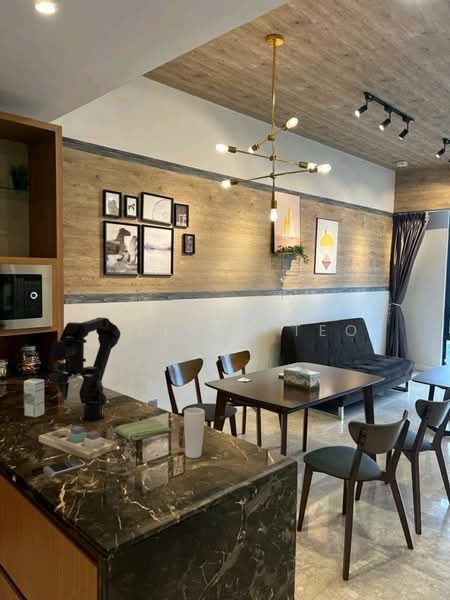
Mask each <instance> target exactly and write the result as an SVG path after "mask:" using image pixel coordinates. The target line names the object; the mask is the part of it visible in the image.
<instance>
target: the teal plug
mask: <svg viewBox="0 0 450 600" xmlns="http://www.w3.org/2000/svg"><path fill="white" fill-rule="evenodd" d="M85 429H86V428H85V427H83V426H80V425H77V426H74V427H71V432H70V433H69V442H72V443H74V444H77V443H80V442H83V441H84V438H86V433H87V432H86V430H85Z"/></svg>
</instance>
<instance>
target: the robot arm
mask: <svg viewBox="0 0 450 600" xmlns="http://www.w3.org/2000/svg"><path fill="white" fill-rule="evenodd" d="M94 331H96V334H97V335H98V337H97V340H98V343H99V346H98V347H99V348H98V350H97V354H96V356H95V360H94V362H93V366H92V365H91V366H90V365H89V366H85V367H84V364H85V362H87V359H86V358H85V357H84V354H85V347H84V346H85V344H86V343H87V339H85V338H86V337H87V336H89V334H90V333H91V332H94ZM120 337H121V331H120V330H119V328H118V326H117V325H116V324H114V323H113V322H111V321H110V319H109V318H107V317H95V318H93V319H90V320H87V321H83V322H71V321H69V322H68V323H66V325H65V327H64V329H63V331H62V333H61V336H60V338H59V339H58V340H59V341H57V342H56V344H55V346H54V347H53V349H52V350H51V354H52V357H53V359H54V360H55V362H54V363H53V371H54V373H51V374H50V376H49V382H50V383H52V384H55V385H56V386H57V387H58V389H59V391H60V394H61V396H62V398H63V400H64V401H67V399H68V398H67V397H68V395H69V394H68V393H69V385H70V382H69V379H74V378H77V377H81V378H82V380H83V381H82V382H81V383H82V384H81V387H80V388H79V393H78V394H79V400H80V404H84V407H83V408H84V409H83V416H81V418H82V419H84V420H87V421H89V422H95V421H98V420H101V419H104V418H105V415H103V405H105V404H106V403H107V396H106V395H105V393H104V385H103V377H104V374H105V371H106V368H107V365H108V361H109V358H110V354H111V351H112V349H113V348H114V347H115V346H116V345H117V344H118V342H119V341H120ZM61 361H64V362H62V363H61Z"/></svg>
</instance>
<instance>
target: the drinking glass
mask: <svg viewBox="0 0 450 600" xmlns="http://www.w3.org/2000/svg"><path fill="white" fill-rule="evenodd" d="M183 413H184V414H183V429H184V432H183V433H184V444H185V445H184V446H185V447H184V448H185V451H184V454H185V456H186V457H187V458H188V459H198V458H200V457H202V453H203V450H202V449H203V440H204V431H205V430H204V429H205V422H206V419H205V417H206V416H205V413H206V412H205V410H204V409H203V408H201V407H200V408H199V407H190V408H189V407H188V408H186V409H184V411H183Z"/></svg>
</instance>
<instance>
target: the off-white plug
mask: <svg viewBox="0 0 450 600" xmlns="http://www.w3.org/2000/svg"><path fill="white" fill-rule="evenodd" d="M102 438H103V437H101V432H99V431H95V430H93V431H90V432H86V438H84V447H86V448H88V449H91V450H92V449H95V448H98V447H100V446H102Z"/></svg>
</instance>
